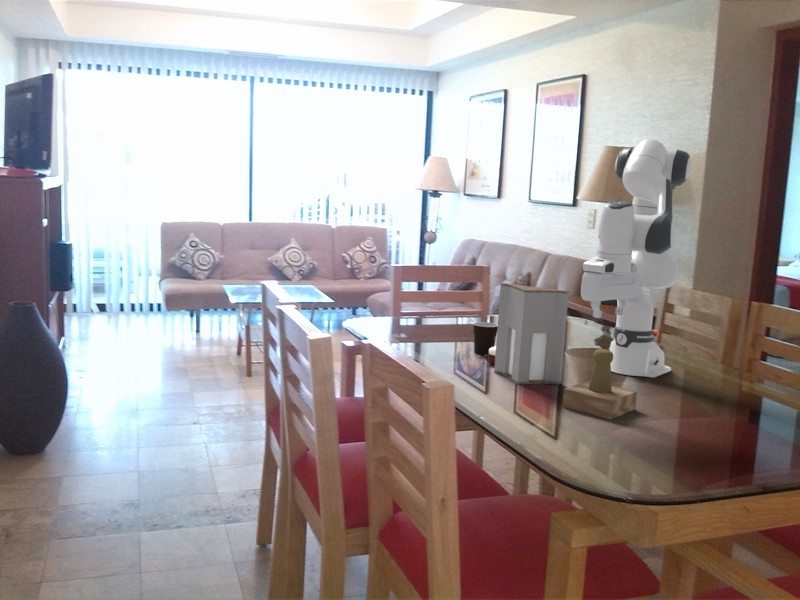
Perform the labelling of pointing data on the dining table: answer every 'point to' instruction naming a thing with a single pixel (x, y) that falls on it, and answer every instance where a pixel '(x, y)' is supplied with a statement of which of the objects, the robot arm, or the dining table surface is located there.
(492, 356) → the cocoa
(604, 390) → the cork
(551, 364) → the cabinet
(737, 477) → the dining table surface
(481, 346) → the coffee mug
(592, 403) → the wooden block
